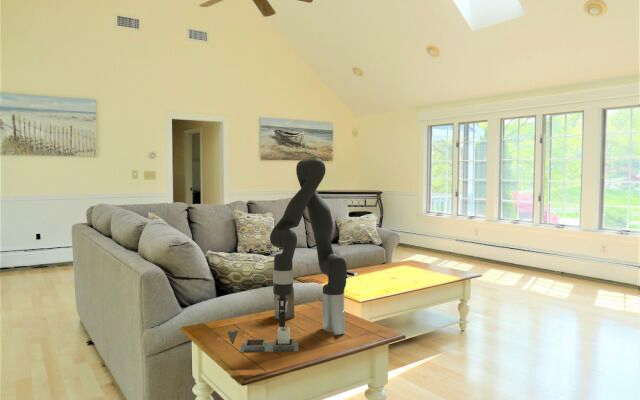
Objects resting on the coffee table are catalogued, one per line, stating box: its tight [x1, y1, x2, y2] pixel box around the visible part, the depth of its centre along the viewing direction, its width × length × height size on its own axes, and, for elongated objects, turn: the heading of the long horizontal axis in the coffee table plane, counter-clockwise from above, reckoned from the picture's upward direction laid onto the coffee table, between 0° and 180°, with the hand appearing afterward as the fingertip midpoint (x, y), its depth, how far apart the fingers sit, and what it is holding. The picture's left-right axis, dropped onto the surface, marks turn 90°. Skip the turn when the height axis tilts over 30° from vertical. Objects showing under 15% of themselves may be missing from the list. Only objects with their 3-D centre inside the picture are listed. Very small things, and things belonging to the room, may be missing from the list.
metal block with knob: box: [277, 326, 291, 345], centre depth 179 cm, size 4×4×8 cm
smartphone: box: [227, 330, 239, 344], centre depth 195 cm, size 7×1×15 cm
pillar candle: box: [273, 287, 295, 321], centre depth 221 cm, size 10×10×15 cm
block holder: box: [239, 338, 299, 353], centre depth 179 cm, size 22×9×3 cm, turn 92°
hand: (282, 322), depth 179 cm, fingers open, 8 cm apart
